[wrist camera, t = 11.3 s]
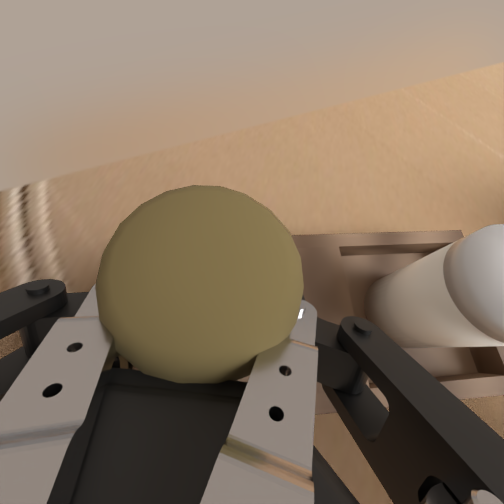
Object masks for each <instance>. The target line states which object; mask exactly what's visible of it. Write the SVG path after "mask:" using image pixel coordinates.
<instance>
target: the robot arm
mask: <svg viewBox="0 0 504 504" xmlns="http://www.w3.org/2000/svg"><path fill="white" fill-rule="evenodd" d="M95 285H96V284H95ZM95 285H94V286H93V287H92V289H91V290H90V292H81V293H67V292H66V287H65V284H64V283H63V282H62V281H59V280H53V279H45V280H37V281H32V282H28V283H25V284H22V285H20V286H17V287H14V288H12V289H9V290H7V291H4V292H1V293H0V339H2V338H4V337H6V336H8V335H10V334H12V333H14V332H15V331H17V330H19V333H20V336H21V340H22V343H23V347H21V348H19V349H17V350H16V351H14V352H12V353H10V354H9V355H7V356H5V357H3V358H2V359H0V504H360V503H359V502H358V501H357V500H356V498H355V497H354V496H353V495H352V493H351V492H350V491H349V490H348V488H347V487H346V486H345V484H344V483H343V482H342V481H341V479H340V478H339V477H338V476H337V474H336V473H335V472H334V470H333V469H332V468H331V467H330V465H329V464H328V463H327V462H326V460H325V459H324V458H323V457H322V455H321V454H320V453H319V451H318V450H317V449H316V448H315V446H314V445H313V438H314V420H315V401H316V383H317V382H319V383H321V384H322V388H323V390H324V392H325V393H326V395H327V397H328V398H329V400H330V401H331V403H332V405H333V406H334V408H335V409H336V411H337V413H338V414H339V416H340V418H341V419H342V421H343V422H344V424H345V426H346V427H347V429H348V430H349V432H350V434H351V435H352V437H353V439H354V440H355V442H356V443H357V445H358V447H359V448H360V450H361V451H362V453H363V455H364V456H365V458H366V460H367V461H368V463H369V464H370V466H371V468H372V469H373V471H374V473H375V474H376V476H377V477H378V479H379V481H380V482H381V484H382V485H383V487H384V489H385V490H386V492H387V494H388V495H389V497H390V498H391V500H392V502H393V503H394V504H504V439H503V438H502V437H500V436H499V435H498V434H497V433H496V432H495V431H494V430H493V429H492V428H490V427H489V426H488V425H487V424H486V423H485V422H484V421H483V420H481V419H480V418H479V417H478V416H477V415H476V414H475V413H474V412H473V411H471V410H470V409H469V408H468V407H467V406H466V405H465V404H464V403H462V402H461V401H460V400H459V399H458V398H457V397H456V396H455V395H454V394H452V393H451V392H450V391H449V390H448V389H447V388H446V387H445V386H444V385H442V384H441V383H440V382H439V381H438V380H437V379H436V378H435V377H433V376H432V375H431V374H430V373H429V372H428V371H427V370H426V369H425V368H423V367H422V366H421V365H420V364H419V363H418V362H417V361H416V360H415V359H413V358H412V357H411V356H410V355H409V354H408V353H407V352H406V351H404V350H403V349H402V348H401V347H400V346H399V345H398V344H397V343H396V342H394V341H393V340H392V339H391V338H390V337H389V336H388V335H387V334H385V333H384V332H383V331H382V330H381V329H380V328H379V327H378V326H376V325H375V324H374V323H372V322H370V321H368V320H366V319H363V318H360V317H356V316H347V317H344V318H343V319H342V320H341V323H340V325H338V324H335V323H331V322H328V321H326V320H323V319H321V318H319V317H317V311H316V309H315V307H314V306H313V305H311V304H310V303H309V302H307V301H305V298H304V295H302V300H301V304H300V309H299V313H298V318H297V323H296V324H295V326H294V328H293V329H292V331H291V333H290V335H289V336H288V338H287V337H286V338H285V339H284V340H283V341H282V342H280V343H279V344H278V345H276V346H273V347H271V348H269V349H267V350H265V351H262V352H260V353H258V356H257V358H256V361H255V364H254V366H253V369H252V372H251V375H250V377H249V380H248V382H242V381H232V380H227V381H224V382H221V383H217V384H211V383H186V384H181V383H176V382H172V381H168V380H165V379H161V378H157V377H153V376H150V375H147V374H143V373H142V372H141V371H140V370H135V368H136V367H135V366H133V365H132V364H131V363H130V362H129V361H127V360H126V359H125V358H124V357H123V356H121V355H120V354H119V353H118V352H117V351H116V349H115V342H114V336H113V335H112V334H111V333H110V331H109V330H108V329H107V328H106V327H105V326H104V324H103V323H102V322H101V321H100V320H99V314H98V306H97V298H96V290H95ZM368 378H370V379H371V380H372V381H373V383H374V384H375V385H376V386H377V387H378V389H379V390H380V391H381V392H382V393H383V395H384V396H385V398H386V400H387V402H388V405H389V412H388V410H387V409H386V408H385V407H384V405H383V404H382V403H381V402H380V400H379V399H378V398H377V397H376V396H375V394H374V393H373V392H372V391H371V389H370V388H369V387H368V386H367V384H366V382H367V380H368Z"/></svg>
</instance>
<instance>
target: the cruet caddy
mask: <svg viewBox="0 0 504 504" xmlns="http://www.w3.org/2000/svg"><path fill="white" fill-rule="evenodd" d="M291 236H292V238H293V241H294V243H295V245H296V248H297V250H298V252H299V254H300V257H301V263H302V273H303V282H304V290H303V295H304V298H305V301H307V302H309V303H310V304H311V305H313V306H314V307H315V309H316V311H317V317H319V318H321V319H323V320H326V321H328V322H331V323H335V324H338V325H340V323H341V320H342V319H343V318H344V317H347V316H356V317H360V318H363V319H366V320H367V317H366V314H365V309H364V300H365V295H366V292H367V290H368V289H369V287H370V286H371V285H372V284H373V283H374V282H375V281H377V280H379V279H381V278H383V277H385V276H387V275H389V274H391V273H393V272H395V271H397V270H399V269H401V268H403V267H405V266H407V265H409V264H411V263H413V262H415V261H417V260H419V259H421V258H423V257H425V256H427V255H429V254H431V253H433V252H435V251H437V250H439V249H441V248H443V247H445V246H447V245H449V244H451V243H453V242H455V241H457V240H459V239H461V238H463V237H464V236H463V234H462V232H461V230H450V231H417V232H385V233H352V234H319V235H291ZM402 349H403V350H404V351H406V352H407V353H408V354H409V355H410V356H411V357H412V358H413V359H415V360H416V361H417V362H418V363H419V364H420V365H421V366H422V367H423V368H425V369H426V370H427V371H428V372H429V373H430V374H431V375H432V376H433V377H435V378H436V379H437V380H438V381H439V382H440V383H441V384H442V385H444V386H445V387H446V388H447V389H448V390H449V391H450V392H451V393H452V394H454V395H455V396H456V397H457V398H458V399H459V400H461V399H471V398H480V397H490V396H499V395H504V346H486V347H444V348H402ZM135 370H138V369H137V368H135ZM249 377H250V375H249V376H247V377H244V378H242V379H239V380H237V381H242V382H248V380H249ZM366 384H367V386H368V387H369V388H370V389H371V391H372V392H373V393H374V394H375V396H376V397H377V398H378V399H379V400H380V402H381V403H382V404H383V405H384V407H389V405H388V402H387V400H386V398H385V396H384V395H383V393H382V392H381V391H380V390H379V389H378V387H377V386H376V385H375V384H374V383H373V381H372V380H371V379H370V378H368V380H367V382H366ZM327 413H337V411H336V409H335V408H334V406H333V405H332V403H331V401H330V400H329V398H328V397H327V395H326V393H325V392H324V390H323V388H322V384H321V383H319V382H317V383H316V401H315V415H318V414H327Z"/></svg>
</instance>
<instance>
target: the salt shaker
mask: <svg viewBox="0 0 504 504" xmlns="http://www.w3.org/2000/svg"><path fill="white" fill-rule="evenodd" d="M364 309H365V314H366V317H367V320H368V321H370V322H372V323H374V324H375V325H376V326H378V327H379V328H380V329H381V330H382V331H383V332H384V333H385V334H387V335H388V336H389V337H390V338H391V339H392V340H393V341H394V342H396V343H397V344H398V345H399V346H400V347H401V348H444V347H486V346H504V224H495V225H490V226H486V227H484V228H482V229H480V230H478V231H476V232H474V233H472V234H470V235H468V236H466V237H463V238H461V239H459V240H457V241H455V242H453V243H451V244H449V245H447V246H445V247H443V248H441V249H439V250H437V251H435V252H433V253H431V254H429V255H427V256H425V257H423V258H421V259H419V260H417V261H415V262H413V263H411V264H409V265H407V266H405V267H403V268H401V269H399V270H397V271H395V272H393V273H391V274H389V275H387V276H385V277H383V278H381V279H379V280H377V281H375V282H374V283H373V284H372V285H371V286H370V287H369V289H368V290H367V292H366V295H365V300H364Z"/></svg>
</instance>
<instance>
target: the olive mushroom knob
mask: <svg viewBox="0 0 504 504" xmlns="http://www.w3.org/2000/svg"><path fill="white" fill-rule="evenodd" d="M95 290H96V298H97V306H98V314H99V320H100V321H101V322H102V323H103V324H104V326H105V327H106V328H107V329H108V330H109V331H110V333H111V334H112V335H113V336H114V342H115V349H116V351H117V352H118V353H119V354H120V355H121V356H123V357H124V358H125V359H126V360H127V361H129V362H130V363H131V364H132V365H133V366H135V367H136V368H137V369H138V370H140V371H141V372H142V373H143V374H147V375H150V376H153V377H157V378H161V379H165V380H168V381H172V382H176V383H181V384H186V383H211V384H217V383H221V382H224V381H227V380H232V381H237V380H239V379H242V378H244V377H247V376H249V375H251V372H252V369H253V366H254V364H255V361H256V358H257V356H258V353H260V352H262V351H265V350H267V349H269V348H271V347H273V346H276V345H278V344H279V343H280V342H282V341H283V340H284V339H285V338H286V337H287V338H288V336H289V335H290V333H291V331H292V329H293V328H294V326H295V324H296V323H297V318H298V313H299V309H300V304H301V300H302V295H303V290H304V282H303V273H302V263H301V257H300V254H299V252H298V250H297V248H296V245H295V243H294V241H293V238H292V236H291V234H290V232H289V231H288V229H287V228H286V227H285V226H284V225H283V224H282V223H281V221H280V220H279V219H278V218H277V217H276V216H275V215H274V213H273V212H272V211H271V210H269V209H268V208H267V207H265V206H264V205H262V204H260V203H259V202H257V201H256V200H254V199H253V198H251V197H249V196H248V195H246V194H244V193H241V192H237V191H234V190H231V189H228V188H224V187H221V186H198V185H193V186H188V187H184V188H179V189H175V190H170V191H166V192H164V193H162V194H160V195H158V196H156V197H154V198H153V199H151V200H149V201H147V202H145V203H143V204H141V205H140V206H139V207H138V208H137V209H136V210H135V211H133V212H132V213H131V214H130V215H129V216H128V217H127V218H126V219H125V220H124V221H123V222H122V223H120V225H119V226H118V228H117V230H116V231H115V233H114V235H113V237H112V238H111V240H110V242H109V243H108V245H107V247H106V248H105V250H104V252H103V255H102V259H101V263H100V267H99V272H98V276H97V281H96V285H95Z"/></svg>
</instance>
